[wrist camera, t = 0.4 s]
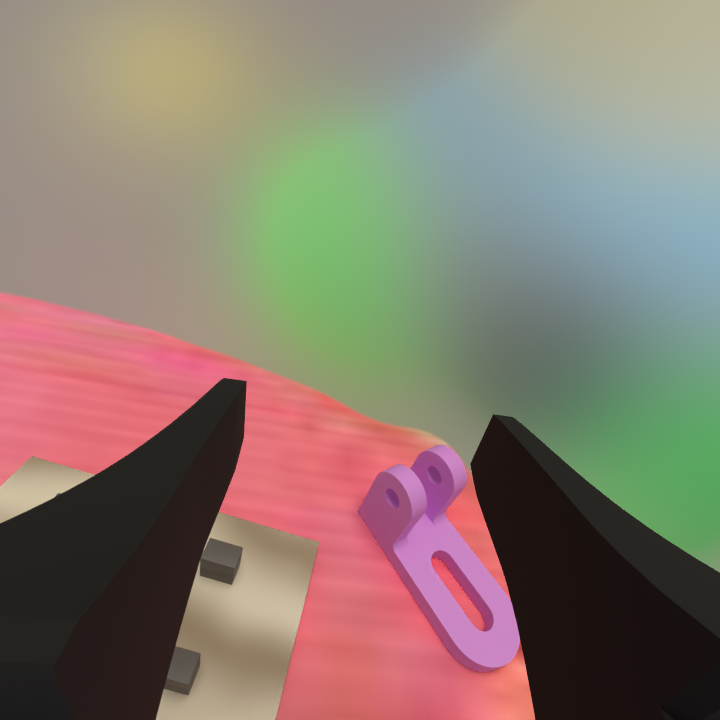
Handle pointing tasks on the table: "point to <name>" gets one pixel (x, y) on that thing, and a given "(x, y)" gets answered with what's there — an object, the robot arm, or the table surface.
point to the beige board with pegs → (214, 607)
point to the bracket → (440, 557)
